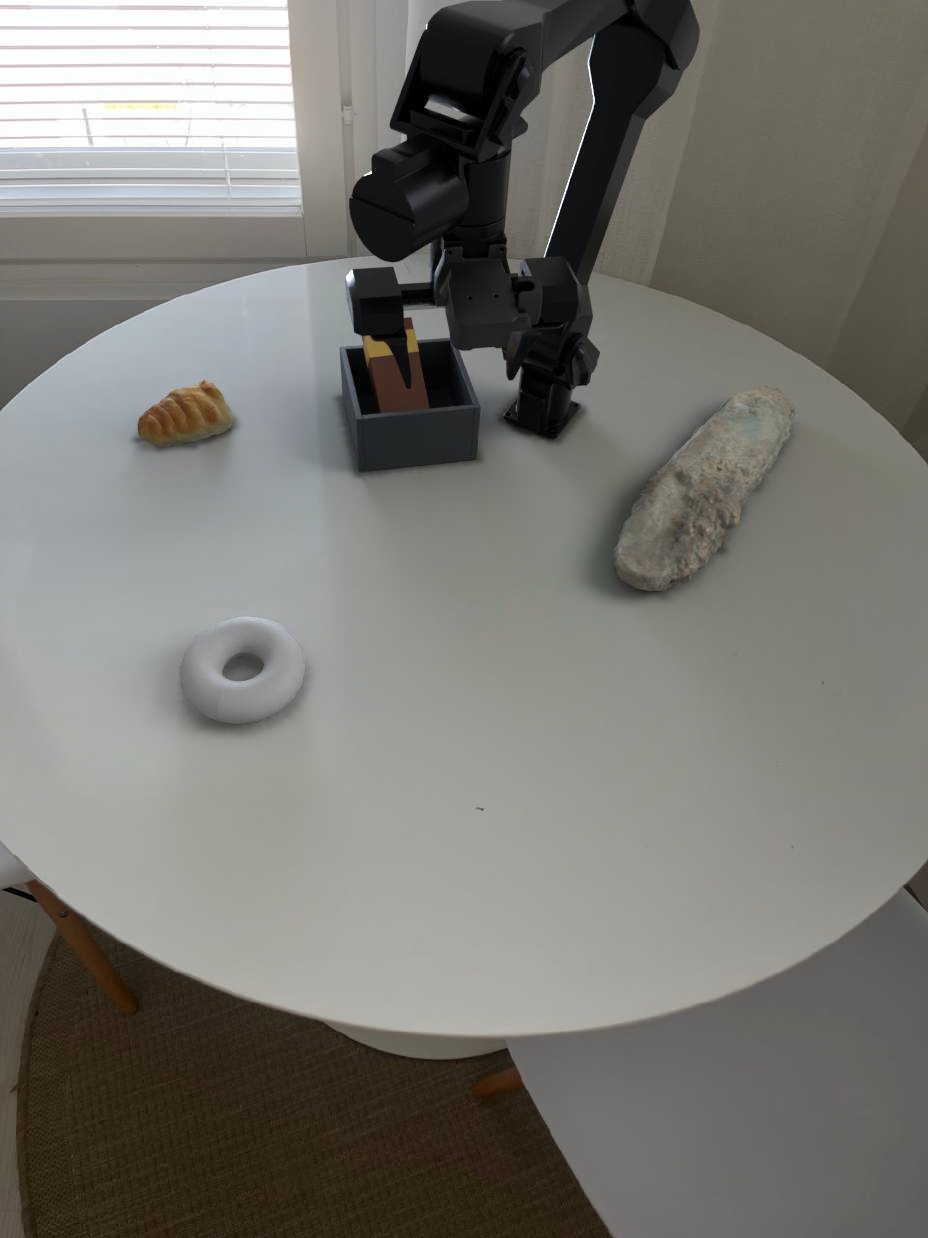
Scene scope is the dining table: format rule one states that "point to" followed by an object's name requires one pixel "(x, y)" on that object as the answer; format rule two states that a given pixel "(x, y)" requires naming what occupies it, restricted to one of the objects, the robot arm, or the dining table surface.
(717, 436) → the long grey stone
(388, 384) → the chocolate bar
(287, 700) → the donut
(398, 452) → the waste bin
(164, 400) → the pastry
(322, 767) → the dining table surface
